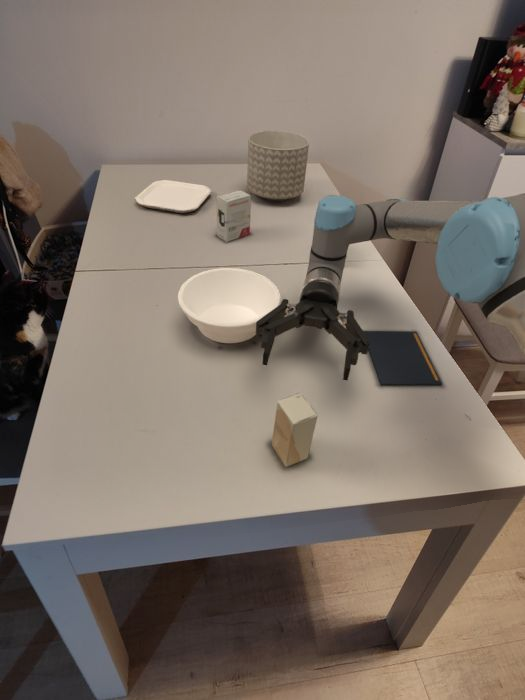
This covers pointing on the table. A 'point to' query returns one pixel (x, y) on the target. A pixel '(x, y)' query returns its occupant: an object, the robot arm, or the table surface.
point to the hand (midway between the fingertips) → (305, 367)
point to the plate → (173, 196)
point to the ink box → (233, 215)
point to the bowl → (228, 302)
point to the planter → (277, 164)
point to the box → (293, 429)
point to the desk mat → (401, 358)
